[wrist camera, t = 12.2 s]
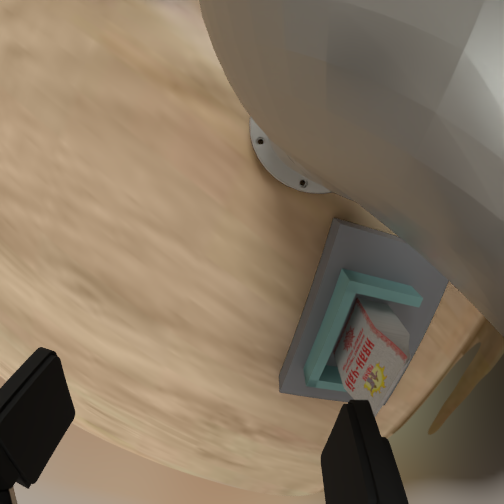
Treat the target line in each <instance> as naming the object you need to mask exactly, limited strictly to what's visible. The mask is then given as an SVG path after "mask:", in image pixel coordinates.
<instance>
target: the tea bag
mask: <svg viewBox="0 0 504 504" xmlns="http://www.w3.org/2000/svg"><path fill="white" fill-rule="evenodd" d="M409 338H410V334H409V333H408V331H407V330H406V328H405V327H404V326H403V324H402V323H401V321H400V320H399V319H398V317H397V316H396V315H395V313H394V312H393V310H392V309H391V308H390V306H389V305H387V304H383V303H379V302H375V301H371V300H366V299H362V298H358V297H357V299H356V301H355V304H354V306H353V309H352V311H351V313H350V316H349V318H348V320H347V323H346V325H345V327H344V330H343V332H342V334H341V336H340V339H339V341H338V343H337V345H336V348H335V350H334V352H333V354H334V357H335V360H336V363H337V367H338V370H339V373H340V377H341V380H342V383H343V387H344V389H345V390H346V391H347V392H348V393H349V394H350V396H351V397H352V398H353V399H354V400H368V401H369V402H370V405H371V408H372V411H373V414H374V417H375V416H376V415H377V413H378V412H379V410H380V409H381V407H382V406H383V404H384V402H385V401H386V399H387V398H388V396H389V395H390V393H391V391H392V390H393V388H394V386H395V385H396V383H397V382H398V380H399V378H400V376H401V375H402V373H403V371H404V370H405V368H406V366H407V364H408V363H409V361H410V359H411V356H410V353H409Z"/></svg>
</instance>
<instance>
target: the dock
mask: <svg viewBox="0 0 504 504" xmlns="http://www.w3.org/2000/svg"><path fill="white" fill-rule="evenodd" d="M448 281H449V280H448V279H447V278H446V277H444V276H443V275H442V274H441V273H440V272H439V271H438V270H437V269H436V268H435V267H434V266H433V265H431V264H430V263H429V262H428V261H427V260H426V259H425V258H424V257H423V256H422V255H420V254H419V253H418V252H417V251H416V250H415V249H413V248H412V247H411V246H410V245H409V244H407V243H406V242H405V241H404V240H403V239H401V238H400V237H397V236H394V235H391V234H388V233H385V232H381V231H378V230H375V229H371V228H368V227H365V226H361V225H358V224H355V223H351V222H348V221H344V220H341V219H337V218H333V221H332V224H331V228H330V231H329V234H328V237H327V240H326V244H325V247H324V250H323V253H322V256H321V259H320V262H319V265H318V269H317V272H316V275H315V278H314V281H313V284H312V286H311V289H310V292H309V295H308V298H307V301H306V304H305V307H304V310H303V313H302V315H301V318H300V321H299V324H298V327H297V329H296V332H295V335H294V338H293V340H292V343H291V346H290V348H289V351H288V354H287V356H286V359H285V362H284V364H283V367H282V369H281V372H280V374H279V392H281V393H287V394H293V395H299V396H305V397H312V398H319V399H327V400H335V401H343V402H349V401H350V400H354V399H353V398H352V397H351V396H350V394H349V393H348V392H347V391H346V390H345V389H344V387H343V383H342V380H341V377H340V373H339V370H338V367H337V363H336V360H335V357H334V354H333V352H334V350H335V348H336V345H337V343H338V341H339V339H340V336H341V334H342V332H343V330H344V327H345V325H346V323H347V320H348V318H349V316H350V313H351V311H352V309H353V306H354V304H355V301H356V299H357V297H358V298H362V299H366V300H371V301H375V302H379V303H383V304H387V305H389V306H390V308H391V309H392V310H393V312H394V313H395V315H396V316H397V317H398V319H399V320H400V321H401V323H402V324H403V326H404V327H405V328H406V330H407V331H408V333H409V334H410V338H409V353H410V356H411V359H410V361H411V360H412V358H413V356H414V354H415V352H416V350H417V348H418V346H419V344H420V342H421V340H422V339H423V337H424V335H425V333H426V330H427V328H428V326H429V324H430V322H431V320H432V318H433V316H434V314H435V311H436V309H437V307H438V305H439V303H440V300H441V298H442V296H443V293H444V291H445V289H446V286H447V284H448ZM410 361H409V363H410ZM409 363H408V364H407V366H406V368H405V370H406V369H407V367H408V365H409ZM405 370H404V371H403V373H402V375H401V376H400V378H399V380H398V382H397V383H396V385H395V386H394V388H393V390H392V391H391V393H390V395H389V396H388V398H387V399H386V401H385V402H384V404H383V405H385V404H386V402H387V401H388V399H389V397H390V396H391V394H392V393H393V391H394V389H395V388H396V386H397V384H398V383H399V381H400V379H401V377H402V376H403V374H404V372H405Z"/></svg>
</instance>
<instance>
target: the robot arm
mask: <svg viewBox="0 0 504 504" xmlns="http://www.w3.org/2000/svg"><path fill="white" fill-rule="evenodd" d="M199 2H200V7H201V12H202V17H203V20H204V23H205V26H206V28H207V31H208V34H209V37H210V40H211V43H212V45H213V48H214V51H215V53H216V55H217V57H218V60H219V62H220V64H221V66H222V68H223V70H224V73H225V75H226V77H227V79H228V81H229V83H230V85H231V87H232V88H233V90H234V92H235V93H236V95H237V97H238V98H239V100H240V102H241V103H242V105H243V107H244V108H245V109H246V111H247V112H248V113H249V115H250V137H251V141H252V145H253V148H254V150H255V152H256V155H257V157H258V159H259V160H260V162H261V163H262V164H263V166H264V167H265V169H266V170H267V171H268V172H269V173H270V174H271V175H272V176H274V177H275V178H276V179H277V180H279V181H280V182H282V183H283V184H285V185H286V186H289V187H291V188H293V189H296V190H298V191H303V192H307V193H318V194H324V193H331V192H334V193H336V194H338V195H340V196H342V197H345V198H347V199H350V200H353V201H355V202H357V203H358V204H359V205H361V206H362V207H363V208H364V209H366V210H367V211H368V212H369V213H371V214H372V215H373V216H374V217H376V218H377V219H378V220H379V221H381V222H382V223H383V224H384V225H385V226H387V227H388V228H389V229H390V230H392V231H393V232H394V233H395V234H397V235H398V236H399V237H400V238H401V239H403V240H404V241H405V242H406V243H407V244H409V245H410V246H411V247H412V248H413V249H415V250H416V251H417V252H418V253H419V254H420V255H422V256H423V257H424V258H425V259H426V260H427V261H428V262H429V263H430V264H431V265H433V266H434V267H435V268H436V269H437V270H438V271H439V272H440V273H441V274H442V275H443V276H444V277H446V278H447V279H448V280H449V281H450V282H451V283H452V284H453V285H454V286H455V287H456V288H457V289H458V290H459V291H460V292H461V293H462V294H463V295H464V296H465V297H466V298H467V299H468V300H469V301H470V302H471V303H472V304H473V305H474V306H475V307H476V308H477V309H478V310H479V311H480V312H481V313H482V314H483V315H484V317H485V318H486V319H487V320H488V321H489V322H490V323H491V324H492V325H493V326H494V327H495V329H496V330H497V331H498V332H499V333H500V334H501V335H502V336H503V337H504V0H199ZM259 139H262V140H263V144H261V145H260V144H258V140H259ZM301 180H304V181H305V184H304V185H300V181H301ZM74 417H75V409H74V406H73V403H72V400H71V396H70V393H69V390H68V386H67V383H66V379H65V376H64V372H63V368H62V365H61V361H60V358H59V357H57V354H56V352H54V351H52V350H49V349H46V348H43V347H40V348H38V349H37V350H36V351H35V352H34V353H33V354H32V355H31V356H30V357H29V358H28V359H27V360H26V361H25V362H24V363H23V365H22V366H21V367H20V368H19V369H18V370H17V371H16V372H15V373H14V374H13V375H12V376H11V377H10V378H9V380H8V381H7V382H6V383H5V384H4V385H3V386H2V387H1V388H0V504H17V500H16V496H15V492H14V488H13V485H14V484H15V482H17V483H19V484H21V485H23V486H24V487H26V488H29V487H30V485H31V484H34V483H35V482H36V481H37V480H38V478H39V476H40V474H41V473H42V471H43V469H44V467H45V466H46V464H47V462H48V460H49V459H50V457H51V456H52V454H53V452H54V450H55V449H56V447H57V445H58V444H59V442H60V440H61V439H62V437H63V435H64V434H65V432H66V431H67V429H68V427H69V426H70V424H71V423H72V421H73V419H74ZM321 467H322V475H323V484H324V492H325V501H326V504H408V500H407V497H406V493H405V490H404V487H403V484H402V480H401V477H400V474H399V471H398V468H397V465H396V462H395V459H394V455H393V453H392V449H391V446H390V443H389V441H388V439H386V438H385V437H381V435H380V432H379V429H378V426H377V423H376V420H375V417H374V414H373V411H372V408H371V405H370V402H369V401H368V400H350V401H349V402H348V404H343V406H342V408H341V410H340V413H339V415H338V418H337V420H336V422H335V425H334V427H333V429H332V432H331V434H330V436H329V438H328V441H327V443H326V445H325V447H324V449H323V451H322V454H321Z"/></svg>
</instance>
